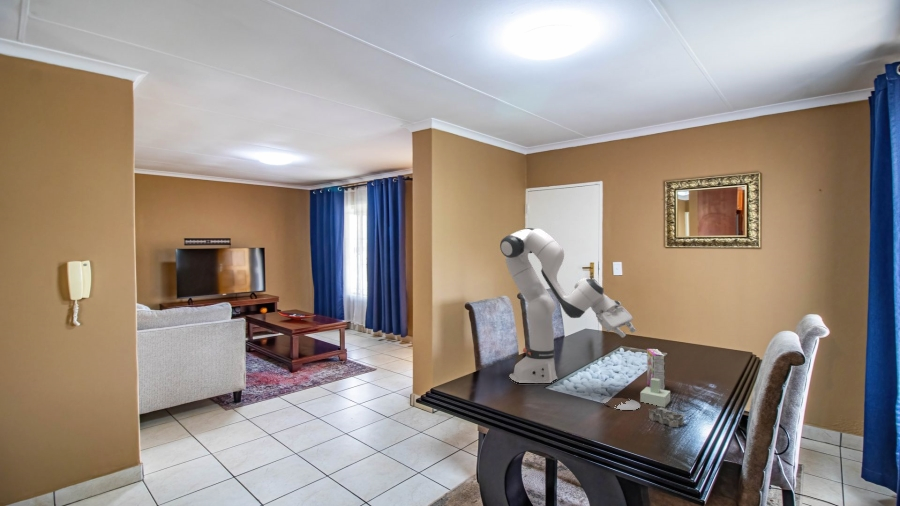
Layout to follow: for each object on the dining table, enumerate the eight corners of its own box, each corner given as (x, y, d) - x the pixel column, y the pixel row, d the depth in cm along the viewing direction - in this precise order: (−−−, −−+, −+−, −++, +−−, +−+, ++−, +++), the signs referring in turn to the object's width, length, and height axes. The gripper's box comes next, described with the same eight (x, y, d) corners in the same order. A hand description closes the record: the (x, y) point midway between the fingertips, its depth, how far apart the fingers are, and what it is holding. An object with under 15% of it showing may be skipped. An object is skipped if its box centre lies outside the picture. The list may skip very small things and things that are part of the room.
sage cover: (640, 402, 175) (640, 379, 175) (646, 396, 182) (646, 374, 182) (664, 407, 169) (664, 384, 169) (670, 400, 176) (670, 378, 176)
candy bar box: (646, 384, 197) (646, 348, 197) (658, 385, 196) (658, 348, 196) (652, 392, 186) (652, 354, 186) (665, 393, 185) (665, 355, 185)
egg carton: (646, 419, 159) (646, 408, 159) (658, 415, 163) (658, 404, 163) (674, 429, 150) (674, 417, 150) (686, 424, 154) (686, 413, 154)
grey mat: (614, 412, 165) (614, 410, 165) (596, 399, 179) (596, 398, 179) (648, 409, 167) (648, 408, 167) (627, 397, 181) (627, 396, 181)
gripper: (598, 308, 179) (623, 334, 172) (620, 300, 193) (644, 324, 186) (589, 318, 182) (613, 344, 176) (611, 309, 197) (634, 333, 190)
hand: (629, 333), depth 181 cm, fingers open, 8 cm apart
